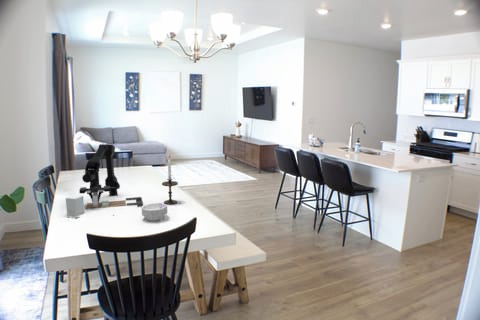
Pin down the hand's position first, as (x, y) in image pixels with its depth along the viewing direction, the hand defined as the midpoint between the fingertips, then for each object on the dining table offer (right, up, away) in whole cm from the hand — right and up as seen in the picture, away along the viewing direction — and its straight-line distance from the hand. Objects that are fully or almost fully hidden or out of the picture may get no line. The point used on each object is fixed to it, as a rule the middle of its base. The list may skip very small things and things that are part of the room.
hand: (95, 201), depth 243 cm
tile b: (+7, -3, 0) cm, 7 cm away
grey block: (0, -2, 0) cm, 2 cm away
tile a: (+5, -2, +4) cm, 7 cm away
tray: (+23, -3, +9) cm, 25 cm away
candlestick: (+48, -2, +13) cm, 49 cm away
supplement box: (-5, -7, -18) cm, 20 cm away
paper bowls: (+45, -8, -21) cm, 50 cm away
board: (+6, -4, +3) cm, 8 cm away
